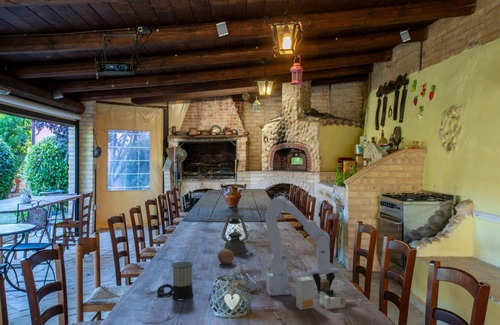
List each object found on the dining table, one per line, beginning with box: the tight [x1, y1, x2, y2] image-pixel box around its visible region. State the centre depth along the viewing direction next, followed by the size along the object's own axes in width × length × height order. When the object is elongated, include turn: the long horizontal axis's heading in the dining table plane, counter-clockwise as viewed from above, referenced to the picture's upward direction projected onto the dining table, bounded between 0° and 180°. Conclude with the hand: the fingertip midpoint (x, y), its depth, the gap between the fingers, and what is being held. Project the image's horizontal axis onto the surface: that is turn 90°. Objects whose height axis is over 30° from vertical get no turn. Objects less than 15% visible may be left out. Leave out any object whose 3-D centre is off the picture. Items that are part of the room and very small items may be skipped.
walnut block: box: [317, 278, 329, 296], centre depth 171 cm, size 4×4×6 cm
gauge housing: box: [319, 290, 346, 310], centre depth 162 cm, size 8×8×4 cm
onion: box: [217, 247, 235, 266], centre depth 224 cm, size 10×9×10 cm
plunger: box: [321, 289, 334, 298], centre depth 166 cm, size 7×4×4 cm, turn 10°
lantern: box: [221, 207, 249, 255], centre depth 257 cm, size 18×20×30 cm
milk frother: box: [156, 261, 194, 300], centre depth 173 cm, size 14×16×15 cm
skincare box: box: [295, 276, 315, 310], centre depth 159 cm, size 6×4×12 cm
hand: (323, 290), depth 171 cm, fingers closed on walnut block, 4 cm apart
